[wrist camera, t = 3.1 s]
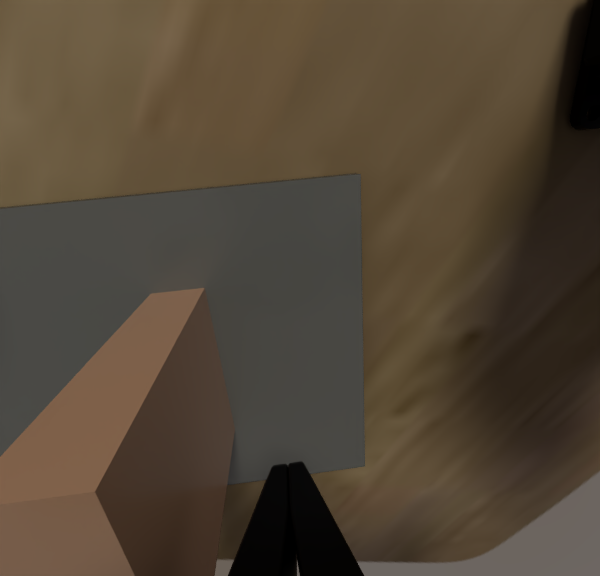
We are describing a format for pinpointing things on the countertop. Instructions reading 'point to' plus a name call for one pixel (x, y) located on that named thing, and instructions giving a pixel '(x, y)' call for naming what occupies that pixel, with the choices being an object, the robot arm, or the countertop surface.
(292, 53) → the countertop surface
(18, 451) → the tile
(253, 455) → the slate board
